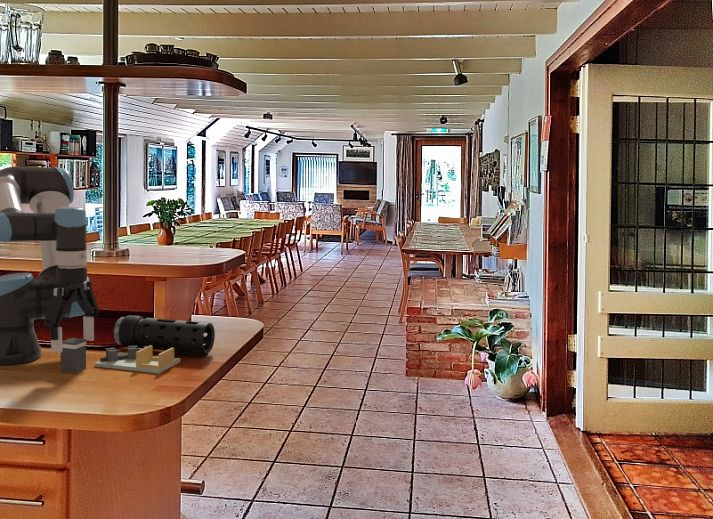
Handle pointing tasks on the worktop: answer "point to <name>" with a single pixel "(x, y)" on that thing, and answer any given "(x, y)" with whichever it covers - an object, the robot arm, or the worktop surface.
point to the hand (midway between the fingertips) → (73, 345)
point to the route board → (130, 361)
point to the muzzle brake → (165, 334)
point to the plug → (73, 355)
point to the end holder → (154, 358)
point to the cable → (118, 358)
